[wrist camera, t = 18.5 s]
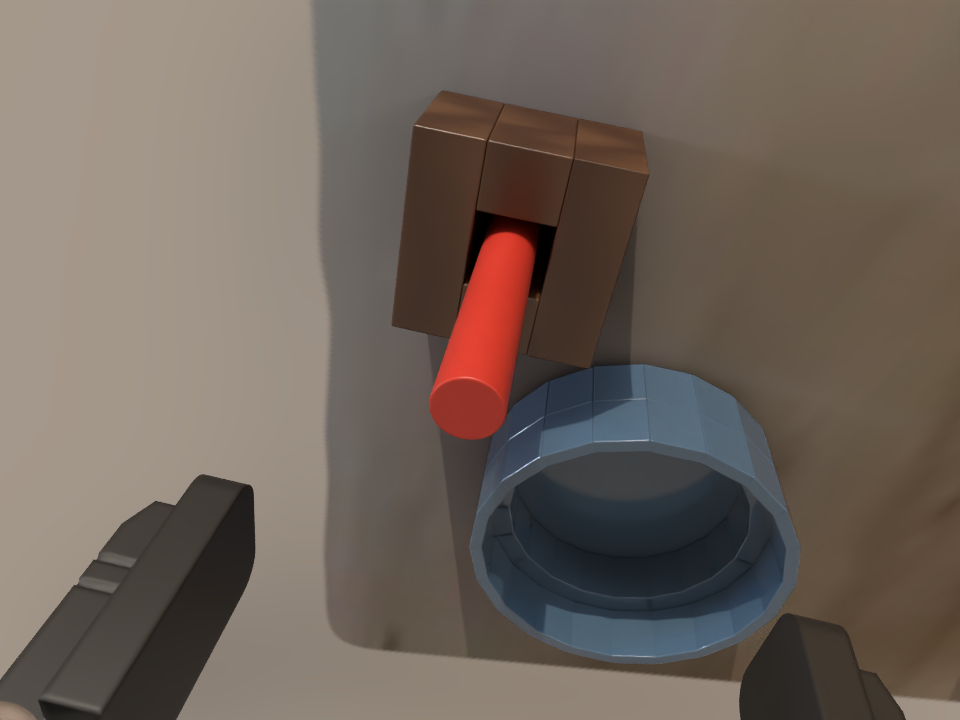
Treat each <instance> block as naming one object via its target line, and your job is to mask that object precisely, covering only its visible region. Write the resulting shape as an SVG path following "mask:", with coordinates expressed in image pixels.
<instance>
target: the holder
mask: <svg viewBox="0 0 960 720" xmlns="http://www.w3.org/2000/svg"><path fill="white" fill-rule="evenodd" d="M648 177H649V171H648V165H647V159H646V153H645V147H644V141H643V135H642V132H641V131H636V130H631V129H627V128H622V127H617V126H612V125H607V124H602V123H598V122H593V121H588V120H583V119H577V118H572V117H568V116H563V115H558V114H553V113H548V112H544V111H539V110H534V109H529V108H524V107H519V106H515V105H510V104H505V105H504V104H503V103H500V102H496V101H491V100H486V99H481V98H476V97H471V96H467V95H462V94H457V93H452V92H447V91H441V92H440V93H439V95H438V96H437V97H436V98H435V99H434V101H433V102H432V103H431V104H430V106H429V107H428V108H427V109H426V110H425V112H424V113H423V114H422V115H421V117H420V118H419V119H418V120H417V121H416V123H415V124H414V125H413V132H412V141H411V150H410V159H409V168H408V178H407V187H406V196H405V205H404V214H403V224H402V233H401V242H400V251H399V260H398V270H397V279H396V288H395V297H394V306H393V315H392V326H394V327H399V328H403V329H408V330H413V331H417V332H422V333H426V334H431V335H436V336H440V337H445V338H449V339H450V337H451V334H452V331H453V328H454V325H455V322H456V320H457V317H458V314H459V311H460V308H461V305H462V302H463V299H464V296H465V293H466V290H467V288H468V285H469V282H470V279H471V276H472V273H473V270H474V267H475V264H476V261H477V258H478V256H479V253H480V250H481V247H482V244H483V241H484V238H485V235H486V233H485V232H482V227H483V221H484V216H485V212H487V213H492V214H496V215H501V216H506V217H510V218H515V219H520V220H525V221H529V222H534V223H539V224H543V225H548V226H553V228H552V232H551V236H550V241H549V245H548V246H546V245H542V244H538V246H537V252H536V257H535V263H534V268H533V273H532V279H531V284H530V290H529V295H528V300H527V306H526V311H525V317H524V322H523V327H522V333H521V338H520V344H519V349H518V354H523V355H526V354H527V356H531V357H536V358H540V359H545V360H549V361H554V362H559V363H563V364H568V365H572V366H577V367H582V368H586V369H590V366H591V363H592V360H593V357H594V353H595V350H596V347H597V344H598V340H599V337H600V334H601V331H602V327H603V324H604V321H605V317H606V314H607V311H608V308H609V304H610V301H611V298H612V295H613V291H614V288H615V285H616V282H617V278H618V275H619V272H620V268H621V265H622V262H623V259H624V255H625V252H626V249H627V246H628V242H629V239H630V236H631V233H632V229H633V226H634V223H635V219H636V216H637V213H638V210H639V206H640V203H641V200H642V197H643V193H644V190H645V187H646V184H647V180H648Z"/></svg>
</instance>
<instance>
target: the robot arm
mask: <svg viewBox="0 0 960 720" xmlns="http://www.w3.org/2000/svg"><path fill="white" fill-rule="evenodd" d="M254 558H255V522H254V493H253V488H252V487H251V486H250V485H247V484H243V483H238V482H234V481H230V480H226V479H221V478H217V477H213V476H209V475H204V474H203V475H199V476H198V477H197V478H196V479H195V480H194V481H193V482H192V483H191V485H190V486H189V487H188V489H187V490H186V492H185V493H184V494H183V496H182V497H181V499H180V500H179V501H178V503H177V504H176V505H171V504H166V503H162V502H158V501H155V502H153V503H152V504H151V505H149V506H147V507H146V508H144V509H143V510H141V511H140V512H138V513H137V514H136V515H134V516H133V517H131V518H130V519H128V520H127V521H125V522H124V523H123V524H121V526H120V527H119V528H118V529H117V531H116V532H115V533H114V535H113V536H112V537H111V538H110V540H109V541H108V542H107V544H106V545H105V546H104V547H103V549H102V550H101V551H100V552H99V556H98V558H97V560H93V561H92V563H91V564H90V565H89V567H88V568H87V569H86V570H85V572H84V573H83V574H82V576H81V577H80V578H79V583H78V584H77V585H74V586H73V587H72V588H71V590H70V591H69V592H68V594H67V595H66V596H65V597H64V599H63V600H62V601H61V603H60V604H59V605H58V607H57V608H56V609H55V610H54V612H53V613H52V614H51V615H50V617H49V618H48V619H47V621H46V622H45V623H44V624H43V626H42V627H41V628H40V630H39V631H38V632H37V633H36V635H35V636H34V637H33V638H32V640H31V641H30V642H29V644H28V645H27V646H26V647H25V649H24V650H23V651H22V653H21V654H20V655H19V656H18V658H17V659H16V660H15V662H14V663H13V664H12V665H11V667H10V668H9V669H8V671H7V672H6V673H5V674H4V676H3V677H2V678H1V680H0V720H176V719H177V717H178V715H179V713H180V711H181V710H182V708H183V706H184V704H185V702H186V700H187V698H188V696H189V694H190V692H191V691H192V689H193V687H194V685H195V683H196V681H197V679H198V677H199V675H200V673H201V672H202V670H203V668H204V666H205V664H206V662H207V660H208V658H209V657H210V655H211V653H212V651H213V649H214V647H215V645H216V643H217V642H218V640H219V638H220V636H221V634H222V632H223V630H224V628H225V626H226V625H227V623H228V621H229V619H230V617H231V615H232V613H233V611H234V609H235V608H236V606H237V604H238V602H239V600H240V598H241V596H242V594H243V592H244V590H245V588H246V586H247V583H248V581H249V578H250V575H251V572H252V568H253V564H254ZM739 707H740V717H741V720H906V719H905V716H904V713H903V711H902V710H901V709H900V707H899V706H898V704H897V703H896V701H895V700H894V698H893V697H892V696H891V694H890V693H889V691H888V690H887V688H886V687H885V686H884V684H883V683H882V681H881V680H880V678H879V677H878V676H877V674H876V673H872V672H868V671H863V670H859V667H858V663H857V660H856V657H855V654H854V651H853V647H852V644H851V641H850V638H849V636H848V634H847V632H846V631H845V629H844V628H843V627H841V626H840V625H836V624H832V623H828V622H824V621H819V620H815V619H811V618H807V617H802V616H798V615H794V614H789V613H786V614H784V615H782V616H781V617H780V618H779V620H778V621H777V623H776V624H775V626H774V627H773V629H772V630H771V632H770V634H769V635H768V637H767V638H766V640H765V641H764V643H763V644H762V646H761V647H760V649H759V650H758V652H757V654H756V655H755V657H754V658H753V660H752V661H751V663H750V664H749V666H748V667H747V669H746V671H745V673H744V676H743V679H742V683H741V689H740V698H739Z"/></svg>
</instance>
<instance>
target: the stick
mask: <svg viewBox="0 0 960 720" xmlns="http://www.w3.org/2000/svg"><path fill="white" fill-rule="evenodd" d="M541 225H542V224H539V223H534V222H529V221H525V220H520V219H515V218H510V217H506V216H501V215H496V214H493V215H492V218H491V221H490V223H489V226H488V229H487V232H486V235H485V238H484V241H483V244H482V247H481V250H480V253H479V256H478V258H477V261H476V264H475V267H474V270H473V273H472V276H471V279H470V282H469V285H468V288H467V290H466V293H465V296H464V299H463V302H462V305H461V308H460V311H459V314H458V317H457V320H456V322H455V325H454V328H453V331H452V334H451V337H450V340H449V343H448V346H447V349H446V352H445V354H444V357H443V360H442V363H441V366H440V369H439V372H438V375H437V378H436V381H435V384H434V386H433V389H432V392H431V395H430V399H429V409H430V413H431V415H432V418H433V419H434V421H435V422H436V424H437V425H438V426H439V427H440V428H441V429H442V430H444V431H445V432H447V433H448V434H450V435H452V436H455V437H457V438H461V439H467V440H477V439H482V438H486V437H488V436H490V435H492V434H494V433H495V432H496V431H498V430H499V429H500V428H501V426H502V425H503V423H504V421H505V418H506V414H507V409H508V403H509V398H510V392H511V387H512V381H513V376H514V371H515V365H516V360H517V354H518V349H519V344H520V338H521V333H522V327H523V322H524V317H525V311H526V306H527V300H528V295H529V290H530V284H531V279H532V273H533V268H534V263H535V257H536V252H537V246H538V241H539V235H540V230H541Z"/></svg>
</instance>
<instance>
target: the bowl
mask: <svg viewBox="0 0 960 720" xmlns="http://www.w3.org/2000/svg"><path fill="white" fill-rule="evenodd" d="M469 549H470V553H471V558H472V562H473V567H474V571H475V576H476V580H477V582H478V583H479V585H480V586H481V588H482V589H483V590H484V592H485V593H486V595H487V596H488V598H489V599H490V601H491V602H492V604H493V605H494V606H495V608H496V609H497V610H498V611H499V612H500V613H501V614H503V615H504V616H505V617H506V618H508V619H509V620H510V621H511V622H513V623H514V624H515V625H516V626H518V627H519V628H520V629H522V630H523V631H524V632H525V633H527V634H529V636H531V637H534V638H536V639H538V640H540V641H542V642H545V643H547V644H549V645H551V646H553V647H555V648H558V649H560V650H562V651H564V652H566V653H567V652H568V653H571V654H575V655H580V656H584V657H588V658H593V659H597V660H601V661H606V662H612V663H630V664H663V663H669V662H675V661H682V660H688V659H694V658H700V657H704V656H707V655H709V654H712V653H714V652H717V651H719V650H722V649H724V648H727V647H729V646H732V645H734V644H737V643H740V642H742V641H743V640H745V639H747V638H748V637H749V636H751V635H752V634H753V633H755V632H756V631H757V630H759V629H760V628H761V627H762V626H764V625H765V624H766V623H768V622H769V621H770V620H772V619H773V618H774V617H775V616H777V614H778V612H779V611H780V609H781V608H782V606H783V605H784V603H785V602H786V600H787V598H788V597H789V595H790V594H791V592H792V591H793V589H794V587H795V586H796V583H797V576H798V567H799V559H800V551H801V546H800V543H799V539H798V536H797V533H796V529H795V526H794V523H793V520H792V516H791V513H790V510H789V506H788V503H787V500H786V497H785V493H784V490H783V487H782V483H781V480H780V477H779V474H778V470H777V467H776V464H775V461H774V458H773V455H772V452H771V450H770V447H769V444H768V441H767V439H766V436H765V433H764V430H763V428H762V427H761V426H760V425H759V424H758V422H757V421H756V420H755V419H754V418H753V417H752V416H751V415H750V414H749V413H748V412H747V411H746V410H745V408H744V407H743V406H742V405H741V404H740V403H739V402H738V401H737V400H736V399H735V398H734V397H733V396H732V395H730V394H728V393H726V392H724V391H722V390H721V389H719V388H717V387H715V386H713V385H711V384H709V383H708V382H706V381H704V380H702V379H700V378H698V377H696V376H695V375H692V374H688V373H683V372H679V371H674V370H669V369H665V368H660V367H655V366H651V365H646V364H644V365H643V364H635V365H614V366H595V367H591V368H590V369H585V370H582V371H578V372H575V373H572V374H569V375H566V376H563V377H560V378H557V379H554V380H551V381H548V382H546V383H545V384H543V385H542V386H541V387H539V388H538V389H536V390H535V391H533V392H532V393H530V394H529V395H528V396H526V397H525V398H523V399H522V400H520V401H519V402H517V403H516V404H515V405H514V406H513V407H512V408H511V410H510V411H509V413H508V414H507V415H506V418H505V421H504V423H503V425H502V426H501V428H500V429H499V430H498V431H496V432H495V433H494V434H493V436H492V439H491V444H490V448H489V452H488V457H487V461H486V466H485V470H484V475H483V480H482V485H481V490H480V495H479V500H478V505H477V509H476V514H475V519H474V524H473V529H472V534H471V539H470V544H469Z"/></svg>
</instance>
